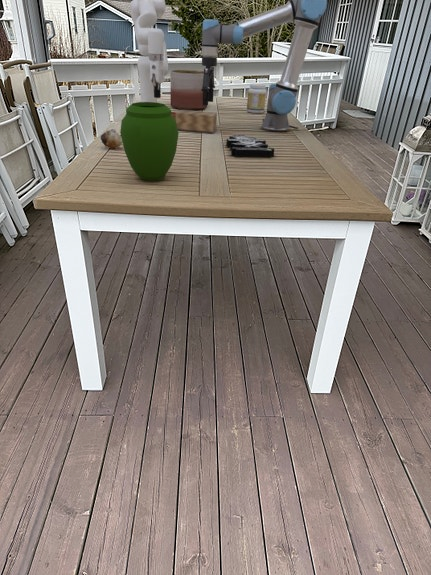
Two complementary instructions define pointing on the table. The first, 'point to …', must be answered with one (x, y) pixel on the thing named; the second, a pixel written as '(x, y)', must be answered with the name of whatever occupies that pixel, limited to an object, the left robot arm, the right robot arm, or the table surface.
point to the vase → (149, 139)
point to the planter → (187, 89)
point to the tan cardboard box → (196, 121)
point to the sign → (248, 147)
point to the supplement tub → (256, 98)
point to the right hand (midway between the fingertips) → (207, 103)
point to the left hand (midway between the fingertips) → (157, 97)
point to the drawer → (173, 115)
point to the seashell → (111, 139)
